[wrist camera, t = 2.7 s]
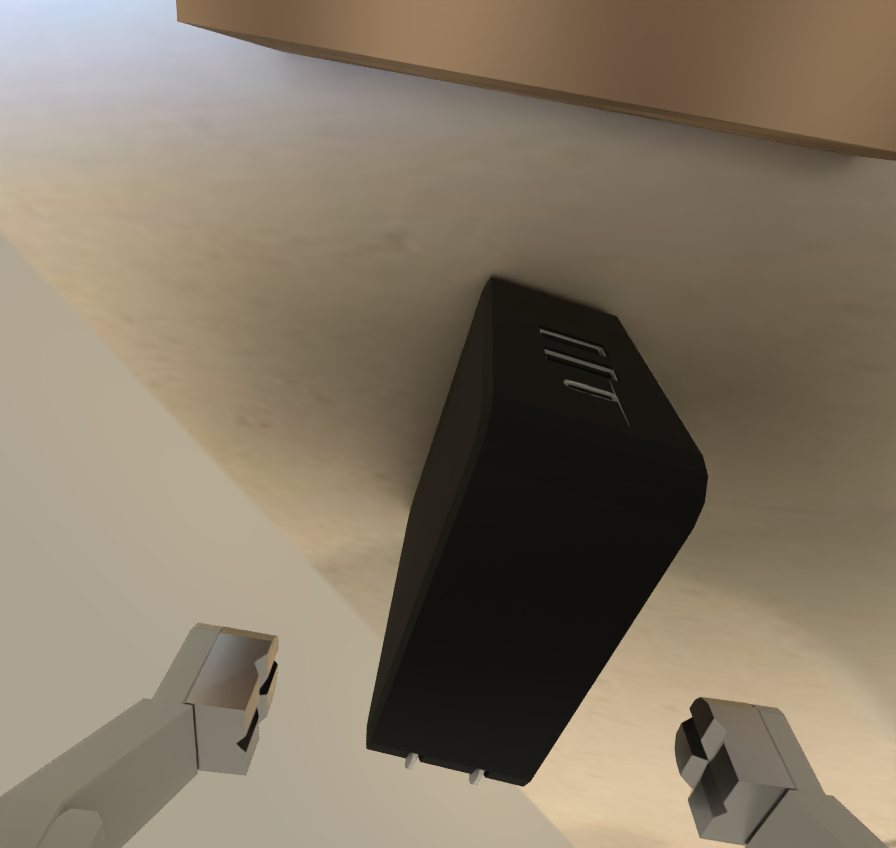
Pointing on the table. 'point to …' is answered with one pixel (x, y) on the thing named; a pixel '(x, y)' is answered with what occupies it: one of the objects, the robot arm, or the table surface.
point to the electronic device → (529, 536)
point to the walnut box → (619, 56)
